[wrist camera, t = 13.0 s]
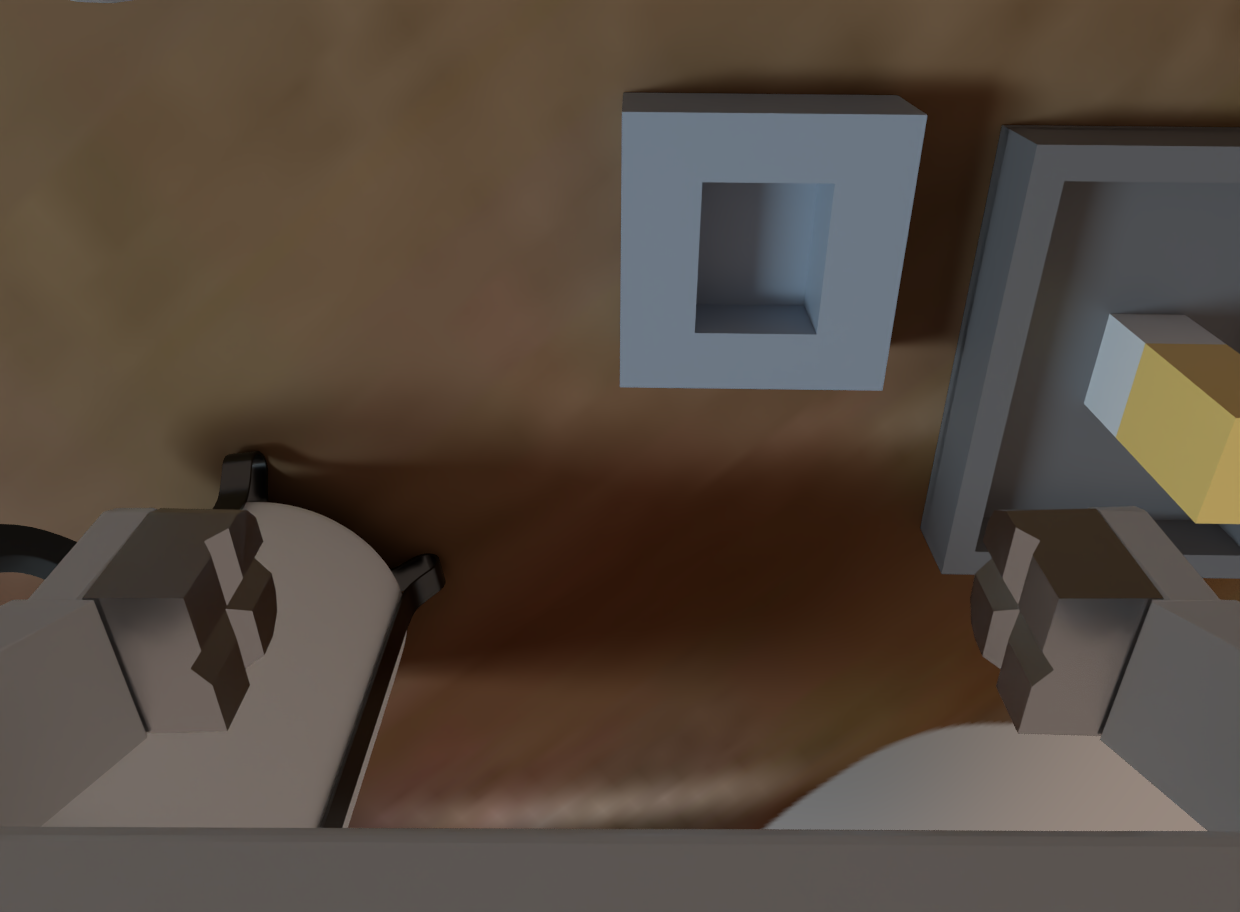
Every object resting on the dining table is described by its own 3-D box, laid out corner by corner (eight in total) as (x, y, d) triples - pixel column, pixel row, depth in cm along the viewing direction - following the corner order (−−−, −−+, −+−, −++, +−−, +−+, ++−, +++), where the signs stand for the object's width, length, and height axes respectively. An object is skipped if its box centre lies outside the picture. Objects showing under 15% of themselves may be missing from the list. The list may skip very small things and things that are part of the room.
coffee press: (419, 416, 41) (39, 1284, 15) (468, 687, 49) (277, 1562, 23) (35, 432, 42) (-973, 1289, 16) (145, 696, 49) (-399, 1556, 23)
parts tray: (1001, 124, 34) (1037, 144, 31) (1383, 129, 34) (1455, 148, 31) (920, 528, 43) (941, 573, 40) (1222, 532, 43) (1266, 578, 40)
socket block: (623, 92, 34) (622, 111, 31) (897, 95, 34) (927, 115, 30) (621, 345, 39) (620, 387, 36) (860, 348, 39) (882, 390, 35)
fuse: (1109, 313, 37) (1235, 417, 29) (1185, 314, 37) (1331, 419, 29) (1083, 403, 39) (1195, 523, 31) (1155, 404, 39) (1284, 524, 31)
